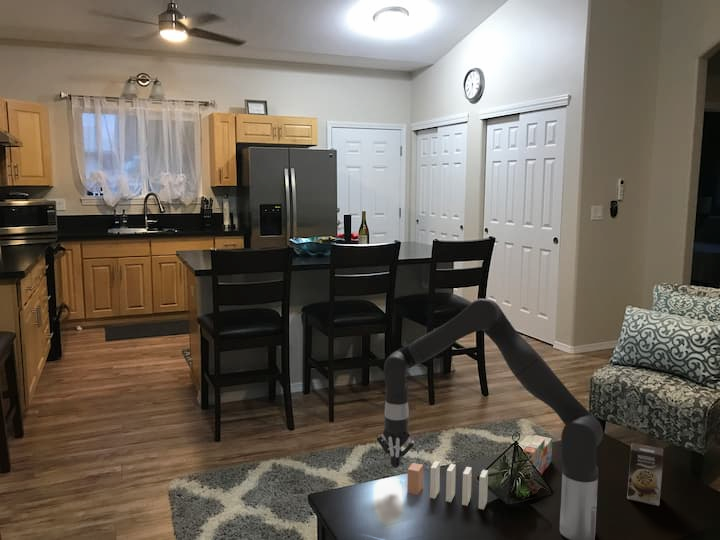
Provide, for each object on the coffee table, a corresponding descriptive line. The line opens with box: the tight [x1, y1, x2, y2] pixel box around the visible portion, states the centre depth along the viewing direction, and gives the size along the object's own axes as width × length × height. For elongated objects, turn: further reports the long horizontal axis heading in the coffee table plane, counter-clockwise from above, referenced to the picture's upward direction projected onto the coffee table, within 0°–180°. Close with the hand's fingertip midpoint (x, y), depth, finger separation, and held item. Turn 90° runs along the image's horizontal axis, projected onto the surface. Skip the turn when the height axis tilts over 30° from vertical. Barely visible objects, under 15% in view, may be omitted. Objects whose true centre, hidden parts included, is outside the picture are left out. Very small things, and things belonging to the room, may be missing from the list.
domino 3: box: [445, 463, 457, 503], centre depth 179 cm, size 2×5×10 cm, turn 157°
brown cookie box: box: [626, 442, 665, 507], centre depth 180 cm, size 9×6×16 cm
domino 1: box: [406, 462, 424, 496], centre depth 184 cm, size 4×5×8 cm
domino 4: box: [461, 466, 473, 507], centre depth 178 cm, size 2×5×10 cm, turn 157°
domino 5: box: [478, 469, 489, 510], centre depth 176 cm, size 2×5×10 cm, turn 157°
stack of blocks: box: [517, 434, 553, 475], centre depth 196 cm, size 21×6×12 cm, turn 146°
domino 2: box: [429, 460, 441, 500], centre depth 181 cm, size 2×5×10 cm, turn 157°
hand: (395, 466), depth 186 cm, fingers closed
